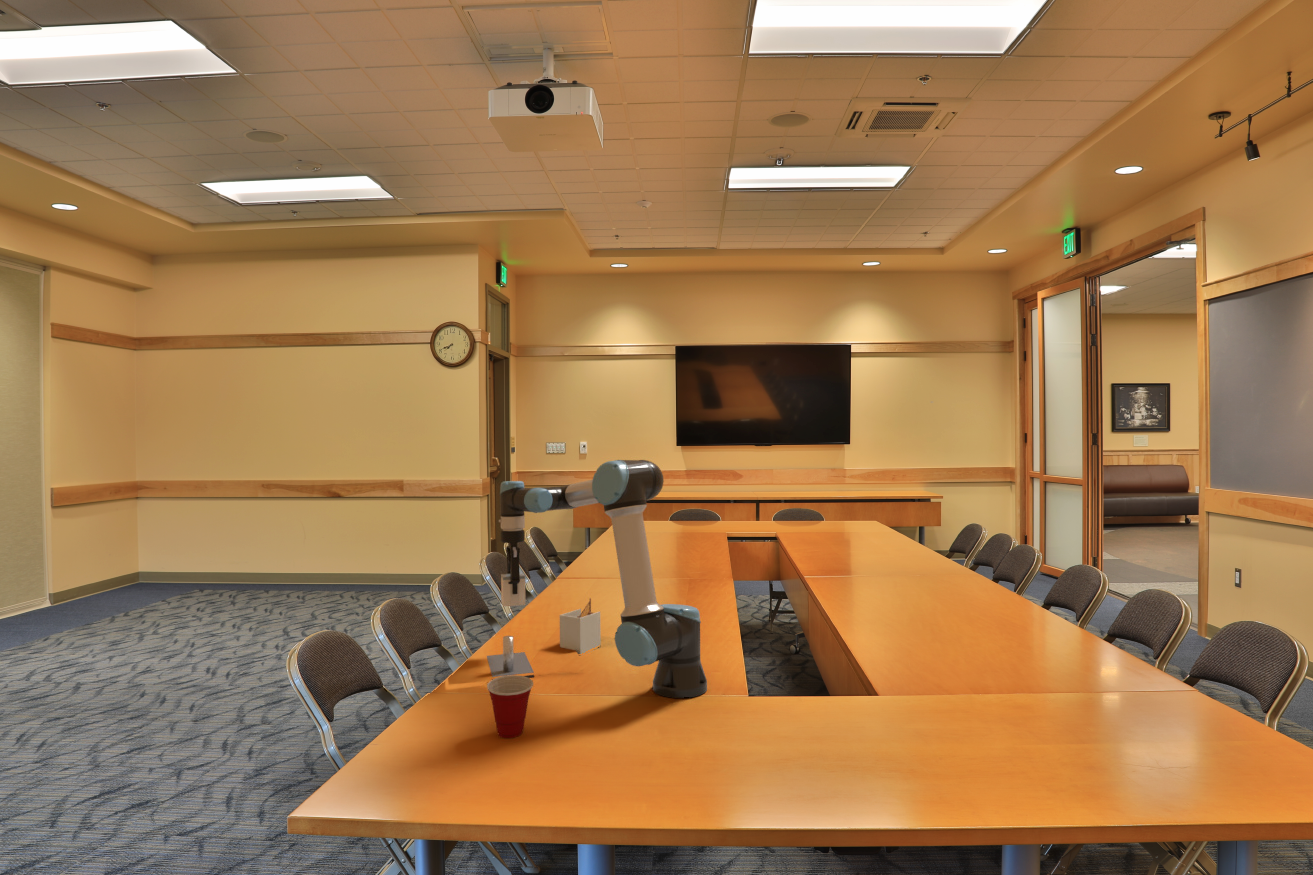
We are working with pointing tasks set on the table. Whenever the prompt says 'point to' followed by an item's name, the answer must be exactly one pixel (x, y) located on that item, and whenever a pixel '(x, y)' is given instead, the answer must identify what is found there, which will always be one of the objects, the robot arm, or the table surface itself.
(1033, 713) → the table surface
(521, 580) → the white block
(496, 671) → the post base
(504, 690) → the plastic cup
